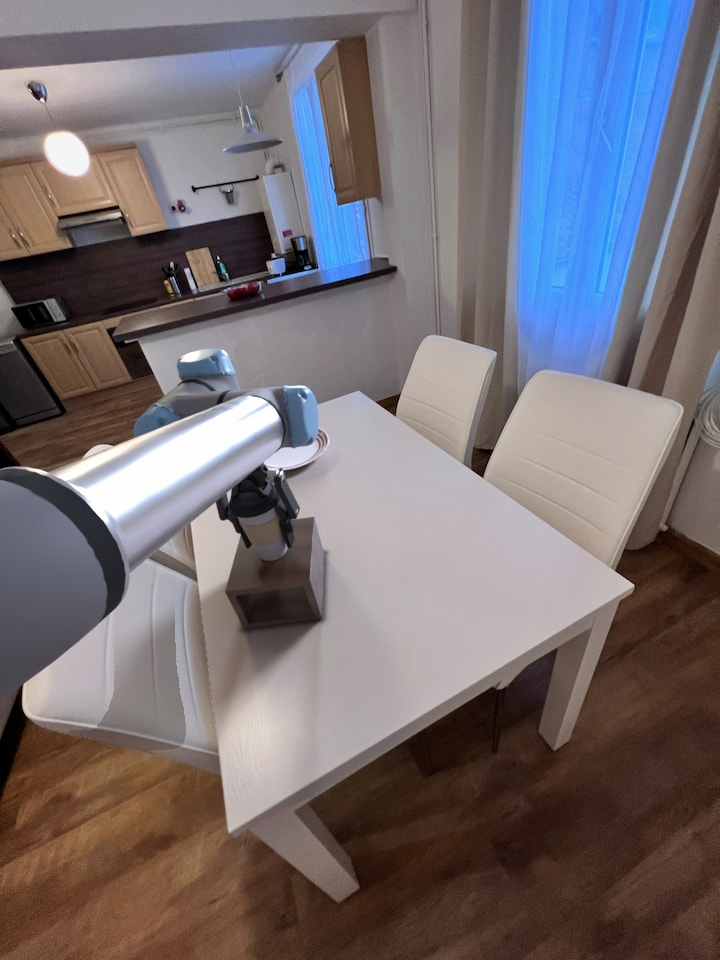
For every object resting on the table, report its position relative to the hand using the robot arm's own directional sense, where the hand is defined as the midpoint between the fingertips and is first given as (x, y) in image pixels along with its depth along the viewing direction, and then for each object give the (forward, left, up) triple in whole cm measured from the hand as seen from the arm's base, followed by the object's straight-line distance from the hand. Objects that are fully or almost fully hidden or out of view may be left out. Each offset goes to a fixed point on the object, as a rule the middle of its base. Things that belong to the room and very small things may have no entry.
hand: (270, 542), depth 80 cm
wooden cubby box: (0, 0, -14) cm, 14 cm away
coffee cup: (0, 0, -2) cm, 2 cm away
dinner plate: (+49, +30, -14) cm, 59 cm away
